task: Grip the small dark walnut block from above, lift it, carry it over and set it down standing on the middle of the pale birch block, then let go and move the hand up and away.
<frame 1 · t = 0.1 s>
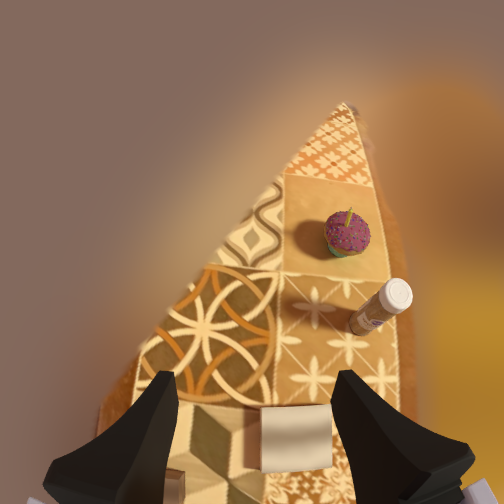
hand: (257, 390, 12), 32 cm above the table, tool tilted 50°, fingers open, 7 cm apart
cupcake: (339, 246, 55), on the table
birch block: (293, 437, 38), on the table
sprinkles bottle: (360, 323, 47), on the table
walnut block: (170, 482, 32), on the table
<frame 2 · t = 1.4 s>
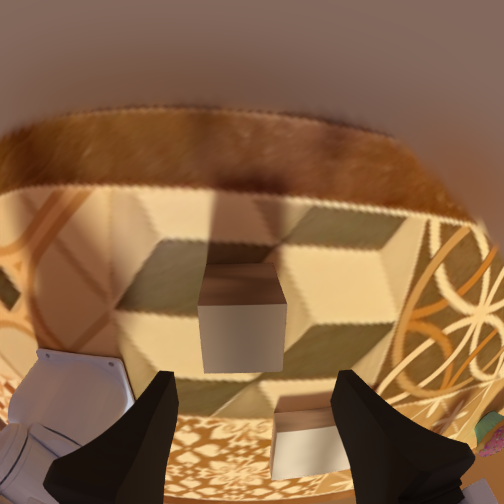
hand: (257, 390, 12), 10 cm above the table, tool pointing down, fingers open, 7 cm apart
cupcake: (484, 420, 33), on the table
birch block: (316, 433, 28), on the table
walnut block: (239, 293, 21), on the table
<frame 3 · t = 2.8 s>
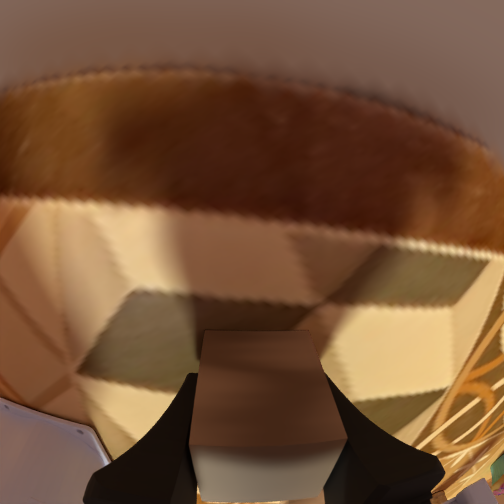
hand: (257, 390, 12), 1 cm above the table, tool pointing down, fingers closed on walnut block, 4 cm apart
cupcake: (501, 457, 25), on the table
sprinkles bottle: (429, 497, 25), on the table
walnut block: (255, 369, 13), on the table, touching gripper
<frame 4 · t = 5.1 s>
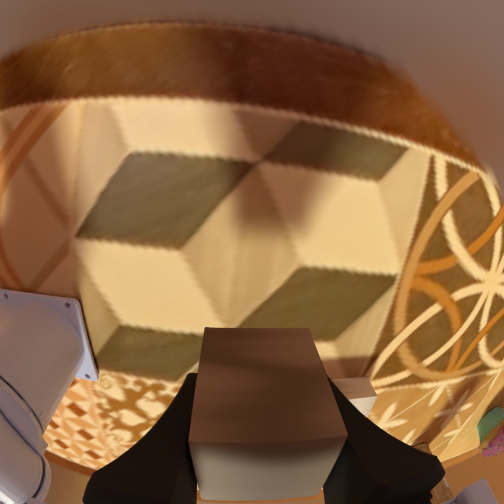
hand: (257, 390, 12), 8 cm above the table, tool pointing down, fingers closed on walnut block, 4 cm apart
cupcake: (488, 416, 30), on the table
birch block: (302, 414, 25), on the table
sprinkles bottle: (413, 450, 30), on the table
walnut block: (255, 367, 13), point 7 cm above the table, touching gripper
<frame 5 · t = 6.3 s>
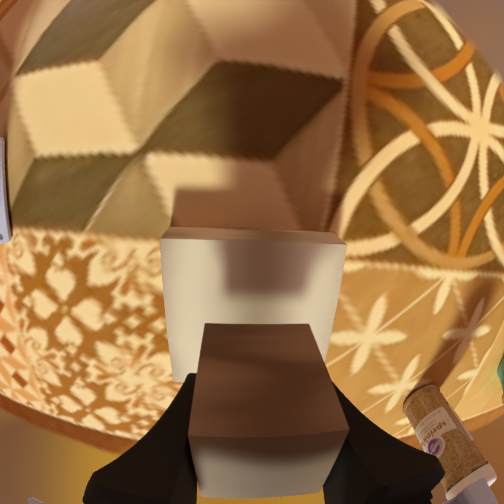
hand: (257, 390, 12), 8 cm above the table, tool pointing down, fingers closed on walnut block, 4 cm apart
birch block: (249, 300, 20), on the table
sprinkles bottle: (419, 397, 25), on the table
walnut block: (255, 364, 13), point 7 cm above the table, touching gripper
when the fingers open (5 cm above the table, at t = 7.3 s): walnut block drops 1 cm, resting on birch block.
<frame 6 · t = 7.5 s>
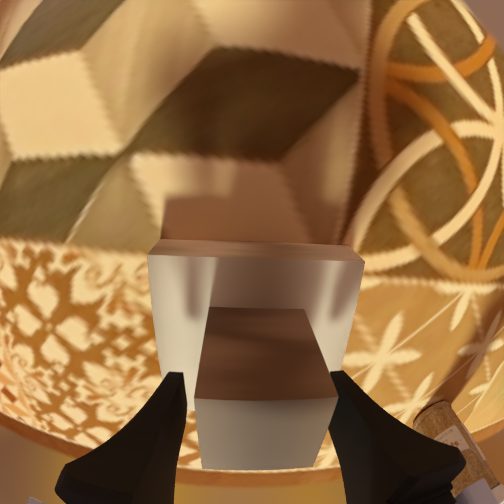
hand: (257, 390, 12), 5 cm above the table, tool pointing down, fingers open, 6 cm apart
birch block: (251, 320, 18), on the table, touching walnut block
sprinkles bottle: (429, 414, 22), on the table
walnut block: (254, 346, 15), point 2 cm above the table, touching birch block
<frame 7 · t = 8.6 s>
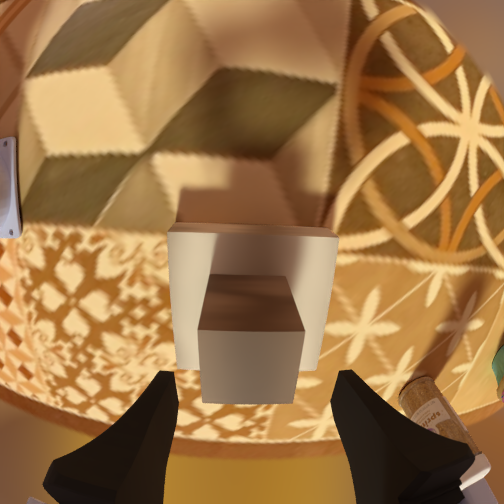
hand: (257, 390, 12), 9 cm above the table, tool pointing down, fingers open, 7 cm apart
cupcake: (503, 353, 26), on the table
birch block: (248, 291, 21), on the table, touching walnut block
sprinkles bottle: (414, 389, 26), on the table
walnut block: (246, 308, 19), point 2 cm above the table, touching birch block
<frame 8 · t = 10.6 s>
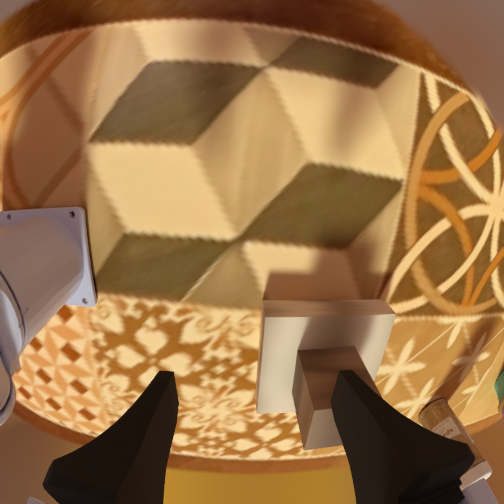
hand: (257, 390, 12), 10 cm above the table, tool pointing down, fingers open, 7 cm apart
birch block: (315, 348, 25), on the table, touching walnut block
sprinkles bottle: (431, 409, 29), on the table
walnut block: (322, 370, 22), point 2 cm above the table, touching birch block
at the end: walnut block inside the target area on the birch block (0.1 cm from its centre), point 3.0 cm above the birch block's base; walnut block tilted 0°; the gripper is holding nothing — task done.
